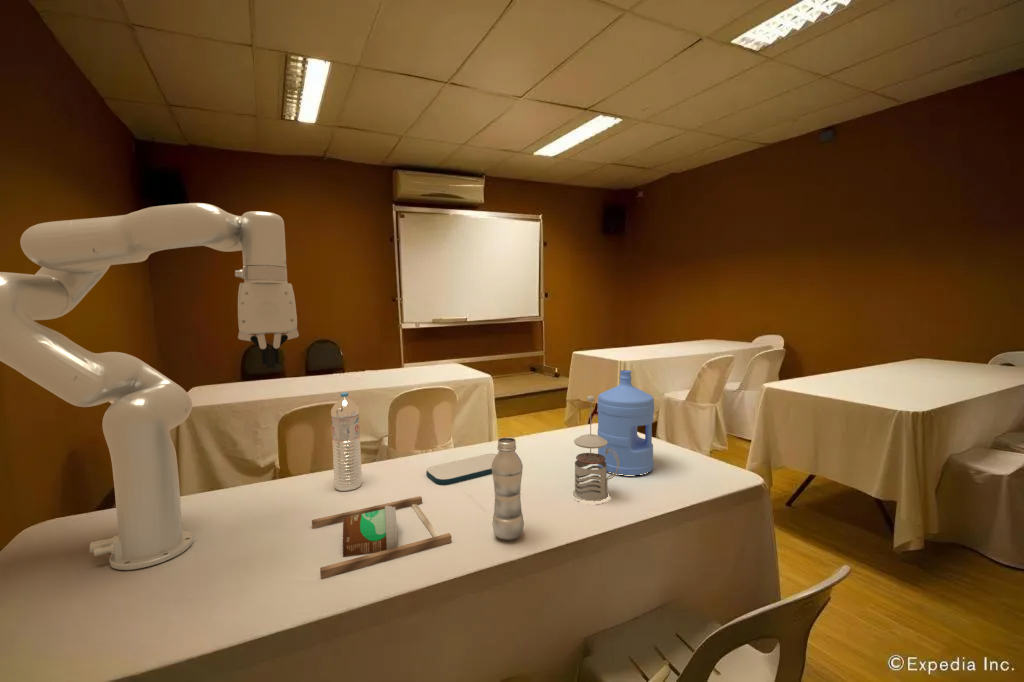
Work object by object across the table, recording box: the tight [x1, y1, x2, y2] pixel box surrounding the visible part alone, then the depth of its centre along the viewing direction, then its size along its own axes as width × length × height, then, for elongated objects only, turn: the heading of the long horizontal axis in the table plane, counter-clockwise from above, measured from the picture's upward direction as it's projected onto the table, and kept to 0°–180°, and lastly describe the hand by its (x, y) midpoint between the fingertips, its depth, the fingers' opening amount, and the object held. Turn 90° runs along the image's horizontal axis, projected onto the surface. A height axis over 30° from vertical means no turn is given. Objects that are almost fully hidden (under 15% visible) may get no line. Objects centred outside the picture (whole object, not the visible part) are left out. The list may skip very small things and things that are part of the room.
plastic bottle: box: [491, 437, 525, 541], centre depth 89 cm, size 6×7×20 cm
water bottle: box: [330, 391, 363, 492], centre depth 115 cm, size 7×7×25 cm
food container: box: [342, 506, 399, 557], centre depth 89 cm, size 12×6×10 cm
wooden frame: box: [311, 495, 452, 580], centre depth 92 cm, size 24×21×1 cm
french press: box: [572, 395, 619, 502], centre depth 107 cm, size 10×12×25 cm
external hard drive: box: [425, 453, 498, 486], centre depth 126 cm, size 24×12×2 cm, turn 123°
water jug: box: [597, 369, 655, 475], centre depth 126 cm, size 16×16×28 cm
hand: (271, 367), depth 89 cm, fingers closed
